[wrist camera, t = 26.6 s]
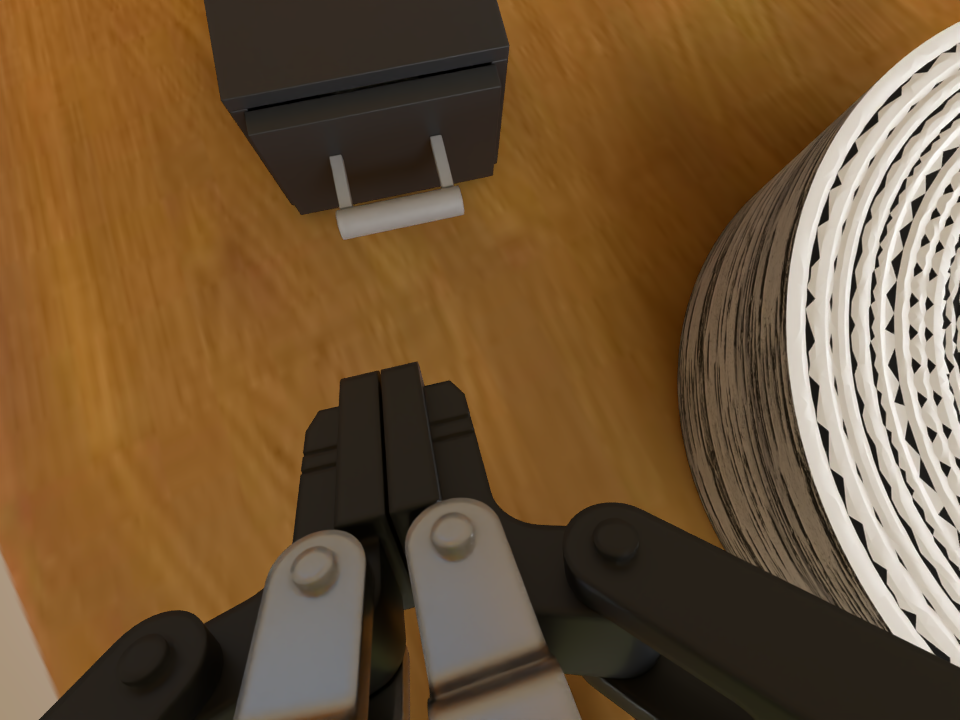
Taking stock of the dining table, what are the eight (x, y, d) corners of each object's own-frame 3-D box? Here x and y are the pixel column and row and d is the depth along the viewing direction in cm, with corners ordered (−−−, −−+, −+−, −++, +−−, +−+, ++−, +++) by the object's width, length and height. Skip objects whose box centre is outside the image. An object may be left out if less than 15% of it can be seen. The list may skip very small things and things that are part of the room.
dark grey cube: (497, 163, 33) (509, 45, 24) (292, 206, 32) (220, 101, 23) (444, -35, 36) (437, -214, 26) (252, -1, 35) (173, -173, 25)
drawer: (510, 241, 31) (524, 170, 24) (314, 283, 31) (263, 224, 23) (442, -16, 34) (436, -153, 27) (262, 16, 34) (203, -115, 26)
